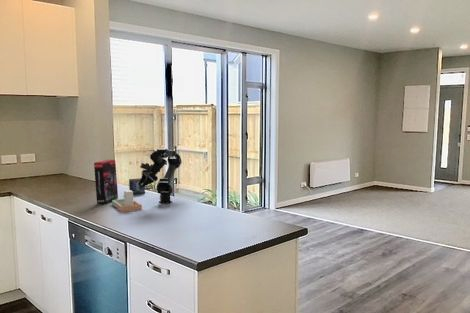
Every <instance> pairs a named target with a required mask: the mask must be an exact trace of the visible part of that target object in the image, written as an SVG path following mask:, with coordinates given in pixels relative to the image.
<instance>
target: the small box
mask: <svg viewBox="0 0 470 313" xmlns="http://www.w3.org/2000/svg"><path fill="white" fill-rule="evenodd" d="M140 179H141V177H140V178H130V179H128V188H129V189H128V190H131V191H133V195H140V194H141V195H143V194H146V186H144V187H142V185H143V183H142V184H140V185H139V184H138V183H139V181H140Z"/></svg>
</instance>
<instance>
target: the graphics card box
mask: <svg viewBox="0 0 470 313" xmlns="http://www.w3.org/2000/svg"><path fill="white" fill-rule="evenodd" d="M116 163H117V162H116V160H115V159H105V160H102V161H101V160H100V161H97V162H93V166H94V170H93V171H94V179H95V180H94V181H95V182H94V183H95V191H96V192H95V193H96V195H95V196H96V204H97V205H106V204H109V203H110V202H111V203H112V200H117V199H119V194H118V179H117V178H118V176H117V167H116V166H117V165H116Z"/></svg>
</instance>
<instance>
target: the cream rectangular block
mask: <svg viewBox="0 0 470 313" xmlns="http://www.w3.org/2000/svg"><path fill="white" fill-rule="evenodd" d="M123 194H124V195H123V196H124V198H123V199H125V206H131V205H134V203H133V200H134V194H133V191H131V190H129V189H128V190H127V189H126V190H124V191H123Z"/></svg>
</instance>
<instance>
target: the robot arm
mask: <svg viewBox="0 0 470 313" xmlns="http://www.w3.org/2000/svg"><path fill="white" fill-rule="evenodd" d="M149 159H150V160H151V161H152V163H153V164H150V163H148V162H146V163H143V162H141V164H140V166H139V168H140V169H142V170H141V177H140V178H141V179H140V178H139V179H140V181H139V183H138V184H139V185H140V184H142V183H143V185H142V187H144V186H145V187H146V186H148V185H150V184H153V183H155V182H157V181H158V183H157V184H156V191H157V194H159V200H160V201H158V203H161V204H169V203H173V201H172V200H171V194H173V186H172V184H171V181H172V179H173V177H174V175H175V172H176V170H177V169H178V168H180V167H181V165H182V158H181V155H179V154H178V153H177V151H176V150H175V149H173V150H172V149H169V148H157V149H156V150H153V152H152V153H150V155H149ZM166 159H167V160H166ZM167 164H168V165H169V166H168V168H167V170H166V171H165V172H166V173H165V175H164V177H163V178H158V176H157V175H158V173H160V172H161V170H162V168H163V167H164V166H165V165H166V166H167Z"/></svg>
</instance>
